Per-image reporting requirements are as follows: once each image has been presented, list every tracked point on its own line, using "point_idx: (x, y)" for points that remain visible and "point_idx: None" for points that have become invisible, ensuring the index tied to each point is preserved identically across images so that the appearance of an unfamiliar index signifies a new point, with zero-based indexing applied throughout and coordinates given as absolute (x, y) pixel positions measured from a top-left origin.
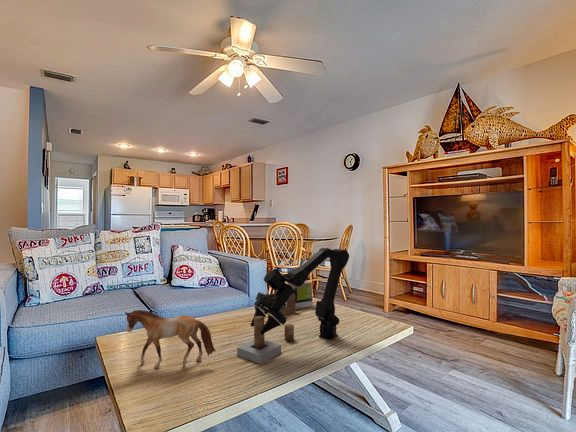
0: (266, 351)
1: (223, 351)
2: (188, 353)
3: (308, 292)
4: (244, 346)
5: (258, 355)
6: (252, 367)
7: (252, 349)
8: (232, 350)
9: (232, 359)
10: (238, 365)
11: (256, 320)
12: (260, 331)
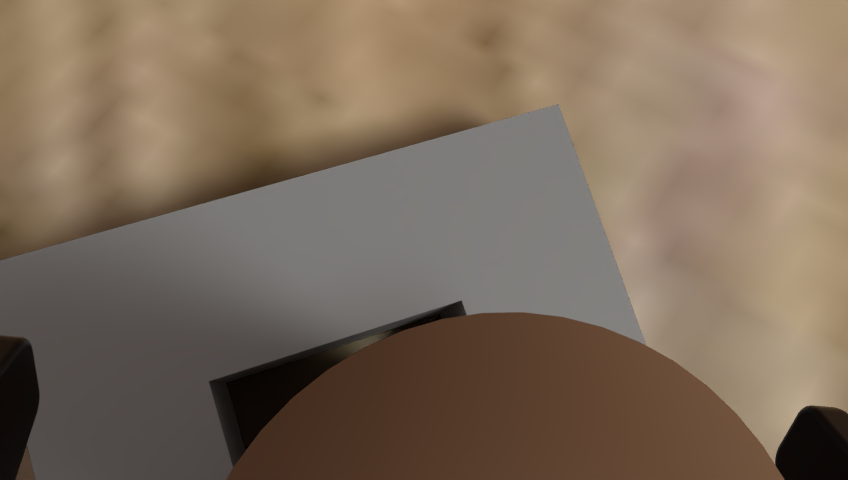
0: (60, 460)
1: (747, 50)
2: None
3: None
4: (521, 224)
5: (33, 253)
6: (27, 139)
7: (315, 279)
8: (713, 166)
9: (439, 34)
10: (218, 14)
11: (353, 357)
12: (6, 351)
